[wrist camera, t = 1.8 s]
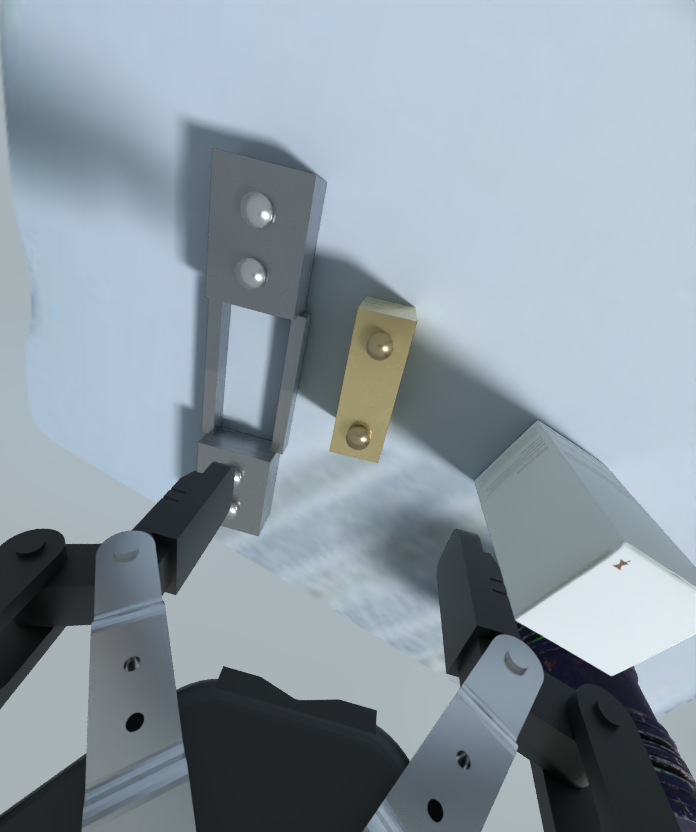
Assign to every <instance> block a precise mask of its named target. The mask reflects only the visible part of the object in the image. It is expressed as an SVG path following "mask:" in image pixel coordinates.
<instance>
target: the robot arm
mask: <svg viewBox="0 0 696 832" xmlns="http://www.w3.org/2000/svg"><path fill="white" fill-rule="evenodd" d="M234 479H235V467H233V466H230V465H226V464H223V463H219V462H215V461H214V462H212V463H211V464H210V465H209V466H208V468H207V469H206V470H205V471H204V472H203V473H200V472H196V471H194V472H192V473H190V474H188V475H186V476H184V477H182V478H180V479H179V480H178V482H177V483H176V484H175V485H174V486H173V487H172V488H171V490H169V491H168V492H167V493H166V494H165V495H164V497H163V499H161V500H160V501H159V502H158V503H157V504H156V505H155V506H154V507H153V508H152V509H151V511H149V513H148V514H147V515H146V516H145V517H144V518H143V519H142V520H141V521H140V522H139V523H138V524H137V525H136V526H135V528H134V529H133V530H131V531H125V532H121V533H118V534H115V535H114V536H111V537H110V538H108V539H107V540H105V541H104V542H103V543H101V544H65V539H64V537H63V535H62V534H61V533H59V532H58V531H55V530H52V529H35V530H30V531H26V532H23V533H20V534H18V535H16V536H14V537H12V538H10V539H9V540H7V541H6V542H5V543H3V544H2V545H1V546H0V709H1V707H2V706H3V705H4V704H5V702H6V701H7V700H8V699H9V697H10V696H11V695H12V693H13V692H14V691H15V690H16V689H17V687H18V686H19V685H20V684H21V682H22V681H23V680H24V679H25V677H26V676H27V675H28V674H29V672H30V671H31V670H32V668H33V667H34V666H35V665H36V664H37V662H38V661H39V660H40V659H41V657H42V656H43V655H44V654H45V652H46V651H47V650H48V649H49V647H50V646H51V645H52V643H53V642H54V641H55V640H56V639H57V637H58V636H59V635H60V633H61V632H62V631H63V630H64V628H65V627H66V626H74V625H91V640H90V670H89V699H88V728H87V753H86V754H84V755H83V756H82V757H80V758H79V759H78V760H76V761H75V762H73V763H72V764H71V765H69V766H68V767H66V768H65V769H64V770H62V771H61V772H59V773H58V774H57V775H55V776H54V777H52V778H51V779H50V780H48V781H47V782H45V783H44V784H43V785H41V786H40V787H38V788H37V789H36V790H35V791H33V792H32V793H30V794H29V795H27V796H26V797H24V798H23V799H22V800H20V801H19V802H18V803H16V804H15V805H13V806H12V807H11V808H9V809H8V810H6V811H5V812H4V813H2V814H1V815H0V832H481V830H482V828H483V826H484V824H485V822H486V819H487V817H488V815H489V813H490V810H491V808H492V806H493V804H494V802H495V799H496V797H497V795H498V793H499V790H500V788H501V786H502V784H503V781H504V779H505V777H506V775H507V773H508V770H509V768H510V766H511V764H512V761H513V759H514V757H515V754H516V752H519V753H520V754H522V755H523V756H524V757H526V758H527V759H529V760H530V763H531V768H532V773H533V778H534V783H535V788H536V794H537V799H538V804H539V809H540V814H541V819H542V824H543V829H544V832H682V831H681V829H680V827H679V824H678V822H677V820H676V817H675V815H674V813H673V810H672V808H671V806H670V804H669V801H668V799H667V797H666V794H665V792H664V790H663V787H662V785H661V783H660V780H659V778H658V776H657V774H656V771H655V769H654V767H653V764H652V762H651V760H650V757H649V755H648V753H647V750H646V748H645V746H644V743H643V741H642V739H641V737H640V734H639V732H638V730H637V727H636V725H635V723H634V721H633V719H632V717H631V716H630V714H629V713H628V711H627V710H626V709H625V707H624V706H623V705H622V704H621V703H620V702H619V701H618V700H617V699H616V698H615V697H614V696H613V695H612V694H611V693H609V692H608V691H606V690H605V689H603V688H601V687H599V686H597V685H594V684H583V685H581V686H580V687H579V688H578V689H577V690H574V689H573V688H571V687H569V686H568V685H566V684H564V683H563V682H561V681H559V680H558V679H556V678H554V677H553V676H551V675H550V674H548V673H547V672H545V671H544V670H543V668H542V665H541V663H540V661H539V659H538V658H537V656H536V655H535V653H534V652H533V651H532V650H531V649H530V648H529V647H528V646H527V645H526V644H525V643H524V642H522V641H521V638H520V635H519V631H518V628H517V625H516V621H515V618H514V614H513V611H512V608H511V604H510V601H509V597H508V596H507V590H506V587H505V585H504V580H503V577H502V573H501V570H500V567H499V566H498V564H497V563H496V561H495V560H494V559H493V557H492V556H491V554H489V553H485V552H483V550H482V546H481V542H480V538H479V536H478V535H476V534H473V533H469V532H466V531H462V530H458V529H455V530H454V532H453V533H452V535H451V537H450V539H449V541H448V543H447V545H446V547H445V550H444V552H443V554H442V556H441V558H440V560H439V563H438V568H437V582H438V593H439V603H440V613H441V623H442V633H443V643H444V654H445V664H446V674H450V675H453V676H457V677H459V679H460V689H459V690H458V692H457V693H456V695H455V696H454V698H453V699H452V701H451V702H450V704H449V705H448V707H447V708H446V710H445V711H444V712H443V714H442V715H441V717H440V718H439V720H438V721H437V723H436V724H435V726H434V727H433V729H432V730H431V731H430V733H429V734H428V736H427V737H426V739H425V740H424V742H423V743H422V745H421V746H420V747H419V749H418V751H417V752H416V754H415V755H414V756H413V758H412V759H411V761H409V759H408V758H407V756H406V754H405V753H404V752H403V750H402V749H401V748H400V746H399V745H398V744H397V743H396V742H395V741H394V740H393V739H392V738H391V736H389V735H388V734H387V733H386V732H385V731H384V730H382V729H381V728H380V727H378V726H377V725H376V714H377V711H376V710H373V709H370V708H366V707H362V706H359V705H356V704H352V703H349V702H346V701H342V700H296V699H294V698H292V697H291V696H289V695H288V694H286V693H285V692H283V691H282V690H280V689H279V688H277V687H275V686H274V685H272V684H271V683H269V682H268V681H266V680H264V679H263V678H262V677H259V676H256V675H252V674H248V673H245V672H242V671H238V670H234V669H231V668H228V667H224V666H223V669H222V671H221V673H220V676H219V678H218V679H209V680H202V681H198V682H195V683H191V684H189V685H186V686H184V687H181V688H179V689H177V690H176V686H175V678H174V670H173V663H172V655H171V647H170V640H169V632H168V625H167V617H166V609H165V603H164V601H163V600H162V595H163V594H164V592H167V593H171V594H174V595H176V594H177V593H178V591H179V590H180V588H181V587H182V585H183V583H184V582H185V580H186V579H187V577H188V576H189V574H190V572H191V571H192V569H193V568H194V566H195V565H196V563H197V562H198V560H199V558H200V557H201V555H202V554H203V552H204V551H205V549H206V548H207V546H208V544H209V543H210V541H211V540H212V538H213V537H214V535H215V534H216V532H217V530H218V529H219V527H220V526H221V524H222V523H223V521H224V519H225V518H226V516H227V514H228V512H229V510H230V507H231V503H232V498H233V489H234Z"/></svg>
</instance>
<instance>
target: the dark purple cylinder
mask: <svg viewBox="0 0 696 832" xmlns="http://www.w3.org/2000/svg"><path fill="white" fill-rule="evenodd" d="M516 625H517V628H518V631H519V635H520V638H521V641H522V642H524V643H525V644H526V645H527V646H528V647H529V648H530V649H531V650H532V651H533V652H534V653H535V655H536V656H537V658H538V659H539V661H540V663H541V665H542V668H543V670H544V671H545V672H547V673H548V674H550V675H551V676H553V677H554V678H556V679H558V680H559V681H561V682H563V683H564V684H566V685H568V686H569V687H571V688H573V689H574V690H577V689H578V688H579V687H580V686H581V685H583V684H594V685H597V686H599V687H601V688H603V689H605V690H606V691H608V692H609V693H611V694H612V695H613V696H614V697H615V698H616V699H617V700H618V701H619V702H620V703H621V704H622V705H623V706H624V707H625V709H626V710H627V711H628V713H629V714H630V716H631V717H632V719H633V721H634V723H635V725H636V727H637V730H638V732H639V734H640V737H641V739H642V741H643V743H644V746H645V748H646V750H647V753H648V755H649V757H650V760H651V762H652V764H653V767H654V769H655V771H656V774H657V776H658V778H659V780H660V783H661V785H662V787H663V790H664V792H665V794H666V797H667V799H668V801H669V804H670V806H671V808H672V810H673V813H674V815H675V817H676V820H677V822H678V824H679V827H680V829H681V831H682V832H696V782H695V780H694V779H693V777H692V775H691V773H690V771H689V769H688V768H687V765H686V764H685V762H684V761H683V760H682V758H681V757H680V755H679V753H678V751H677V746H676V744H675V742H674V741H673V739H672V738H671V737H670V736H669V734H668V732H667V731H666V729H665V728H664V727H663V726H662V725H661V724H659V723H658V722H657V720H656V718H655V716H654V714H653V712H652V710H651V708H650V706H649V704H648V702H647V700H646V699H645V697H644V695H643V693H642V691H641V689H640V687H639V685H638V677H637V673H636V671H635V668H634V666H632V667H630V668H628V669H626V670H624V671H622V672H620V673H618V674H616V675H613V676H610V675H608V674H607V673H605V672H603V671H602V670H600V669H598V668H596V667H595V666H593V665H591V664H590V663H588V662H586V661H584V660H583V659H581V658H579V657H578V656H576V655H574V654H572V653H571V652H569V651H567V650H566V649H564V648H562V647H560V646H559V645H557V644H555V643H554V642H552V641H550V640H548V639H547V638H545V637H543V636H542V635H540V634H538V633H536V632H534V631H533V630H531V629H529V628H528V627H526V626H524V625H522V624H521V623H519V622H517V621H516Z"/></svg>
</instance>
